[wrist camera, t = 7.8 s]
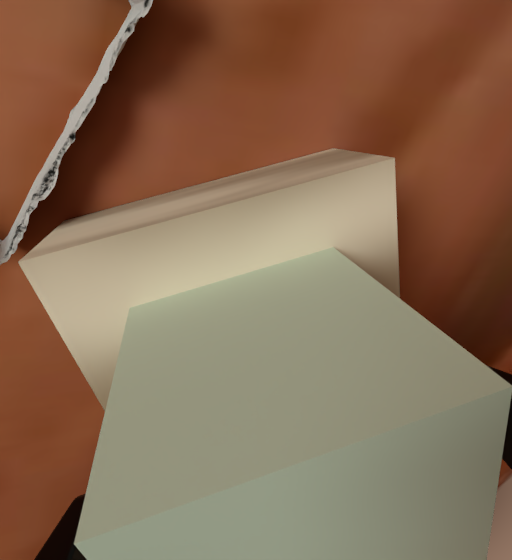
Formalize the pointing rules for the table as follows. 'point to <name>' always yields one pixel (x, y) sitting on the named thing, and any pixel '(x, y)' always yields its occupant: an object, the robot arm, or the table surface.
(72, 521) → the robot arm
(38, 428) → the table surface
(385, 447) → the green cube
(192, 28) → the table surface
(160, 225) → the beige square block
